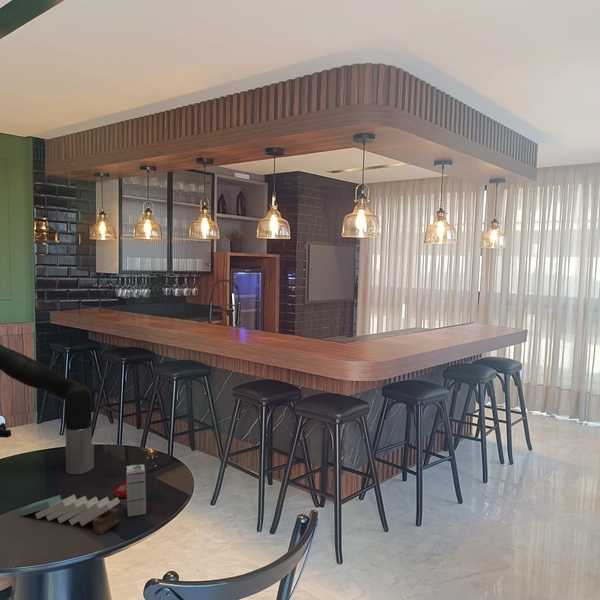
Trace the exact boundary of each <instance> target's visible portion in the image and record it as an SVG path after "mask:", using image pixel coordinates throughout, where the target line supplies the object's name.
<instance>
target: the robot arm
mask: <svg viewBox="0 0 600 600" xmlns="http://www.w3.org/2000/svg"><path fill="white" fill-rule="evenodd" d="M0 371H1V372H3V373H4V374H5V375H7V376H8V377H10V378H11V379H13V380H15V381H16V382H19V383H21V384H23V385H25V386H28V387H31V388H34V389H39V390H42V391H46V392H50V393H52V394H54V395H55V396H58V397H59V398H61V399H63V400H64V423H65V472H66V474H69V475H82V474H86V473H87V472H90V471H91V470H92V469H95V445H94V444H93V443H92V442H93V441H92V438H93V437H92V434H93V433H92V391H91V389H90V387H89V386H87V385H86V384H84V383H82V382H78V381H75V380H72V379H71V378H68V377H65V376H63V375H61V374H59V372H56V371H55V370H54V369H51V368H50V367H48V366H46V365H44V364H42V363H41V362H39V361H38V360H35V359H33V358H31V357H29V356H27V355H25V354H23V353H20V352H18V351H16V350H14V349H12V348H9V347H6V346H4V345H2V344H0ZM11 436H12V429H7V426H6V424H5V423H4V422H1V423H0V438H6V439H7V438H9V437H11Z"/></svg>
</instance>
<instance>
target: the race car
mask: <svg viewBox="0 0 600 600" xmlns="http://www.w3.org/2000/svg"><path fill="white" fill-rule="evenodd" d="M113 495H114V497H115V498H116V497H118V499H119V498H121V499H123V498H127V479H126V480H124V481H123V482H122V483H120V484H119V486H118V487H117V488H116V489H115V490H114V491H113Z"/></svg>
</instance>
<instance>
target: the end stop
mask: <svg viewBox="0 0 600 600" xmlns="http://www.w3.org/2000/svg"><path fill="white" fill-rule="evenodd" d="M118 523H120V509H119V508H115V507H112V508H111V509H109V510H108V511H106V512H104V513H103V514H101V515H99V516H98V517H96V518H95V519H93V520H92V529H93V530H92V531H93V532H92V533H93V534H98V535H103V534H105V533H106V532H107V531H108V530H110V529H111V528H113V527H114V526H116V525H117V524H118Z"/></svg>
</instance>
